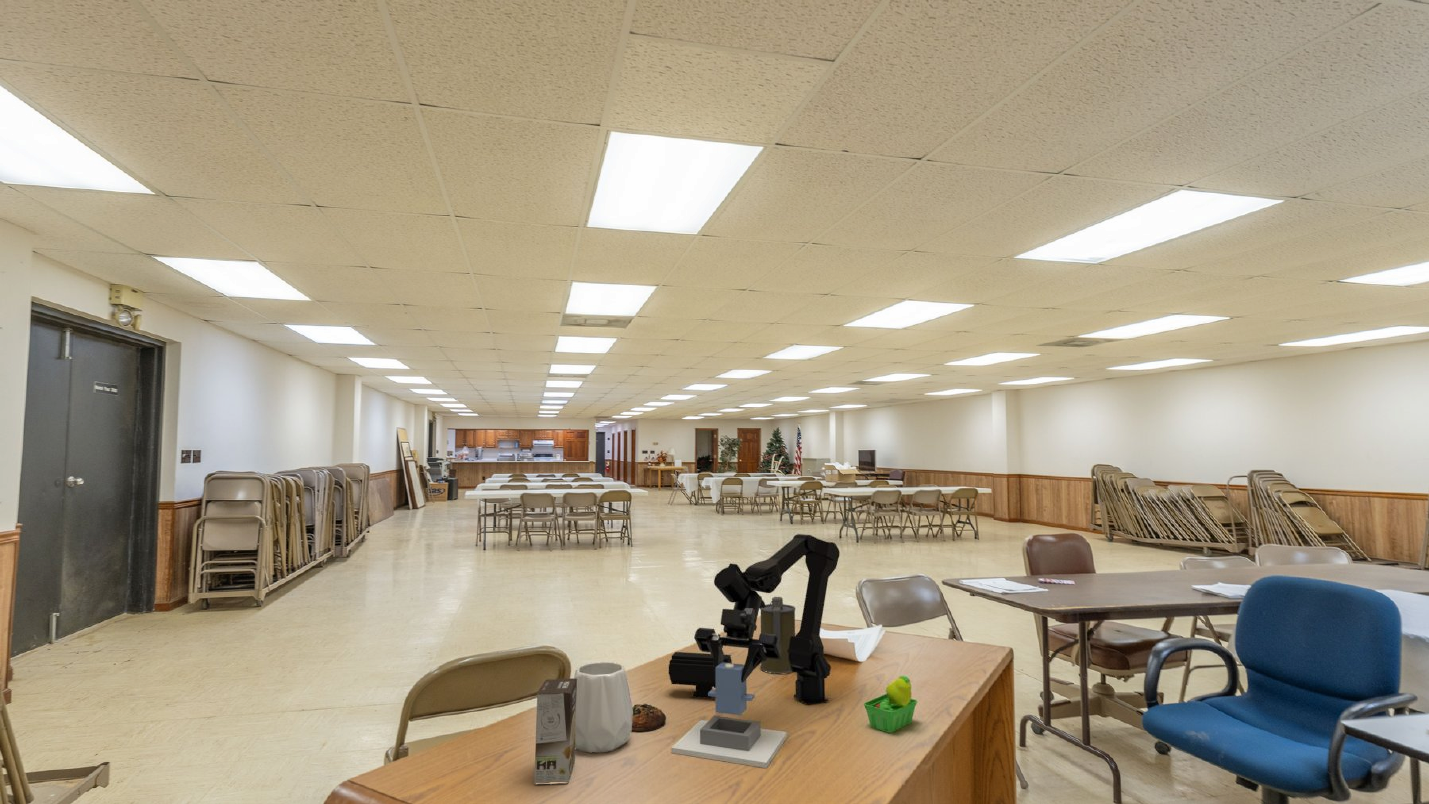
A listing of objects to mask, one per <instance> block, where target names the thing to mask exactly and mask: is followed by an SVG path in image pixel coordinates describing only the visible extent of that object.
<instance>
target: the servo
mask: <svg viewBox="0 0 1429 804" xmlns="http://www.w3.org/2000/svg"><path fill="white" fill-rule="evenodd" d="M744 665H745V664H741V663H733V662H732V663H724V662H722V663H721V664H719V665H718V666H717V667H716V688H715V689H713V688H712V690H711V691H710V692H709V693H708V696H712V697H714V698H715V713H718V714H725V715H726V714H728V715H733V716H734V715H735V716H742V715H743V713H745V712H746V710H747V707H748V706H747V702H752V701H753V700H754V699H755V698H756V697H755V694H754V693H753V694H752V693H747V691H748V690H747V689H748V688H747V679H746V680H745V681H744V682H742V681H741V677H742V671H743V668H744Z"/></svg>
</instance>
